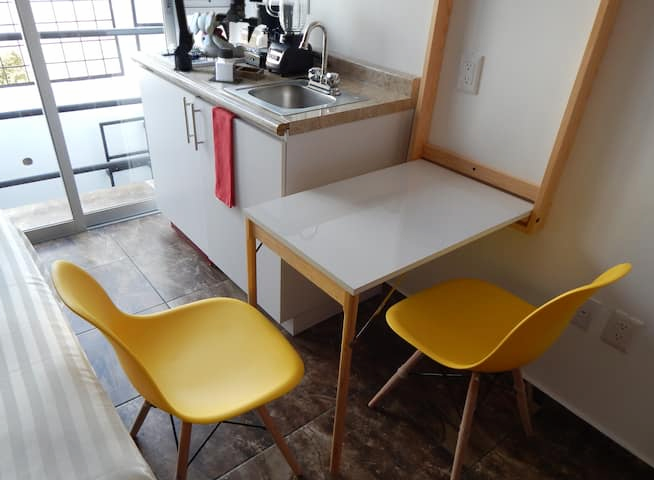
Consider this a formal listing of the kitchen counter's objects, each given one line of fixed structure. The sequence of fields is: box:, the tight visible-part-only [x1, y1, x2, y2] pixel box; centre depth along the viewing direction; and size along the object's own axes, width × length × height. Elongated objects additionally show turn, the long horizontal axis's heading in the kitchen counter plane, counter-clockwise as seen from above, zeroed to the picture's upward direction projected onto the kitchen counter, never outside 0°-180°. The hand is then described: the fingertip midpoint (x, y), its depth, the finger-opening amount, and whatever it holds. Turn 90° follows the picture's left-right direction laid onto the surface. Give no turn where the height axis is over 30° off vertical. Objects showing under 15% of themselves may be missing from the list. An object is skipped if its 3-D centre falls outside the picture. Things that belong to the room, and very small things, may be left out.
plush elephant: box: [189, 10, 247, 58], centre depth 239 cm, size 27×22×21 cm
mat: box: [208, 75, 244, 85], centre depth 205 cm, size 12×9×1 cm
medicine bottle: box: [215, 48, 237, 82], centre depth 201 cm, size 7×7×12 cm
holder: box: [214, 64, 265, 81], centre depth 213 cm, size 19×10×3 cm, turn 78°
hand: (238, 41), depth 210 cm, fingers open, 9 cm apart
